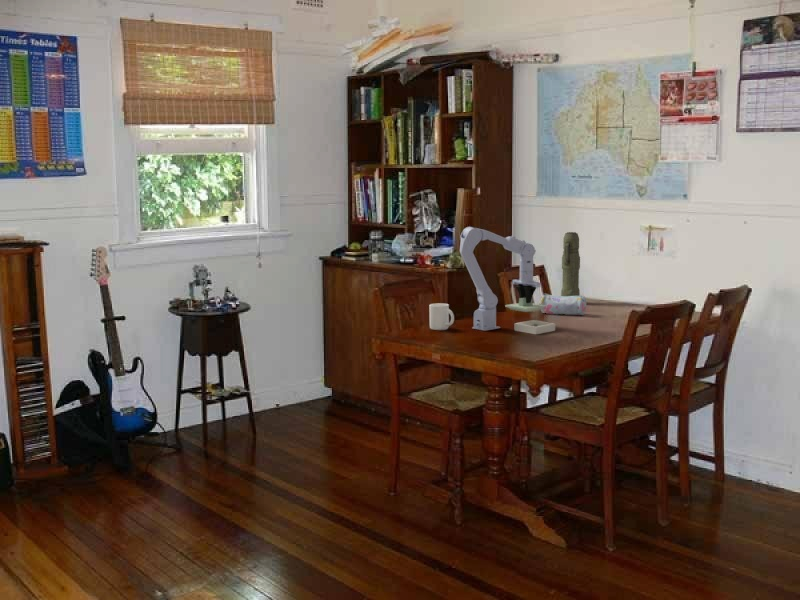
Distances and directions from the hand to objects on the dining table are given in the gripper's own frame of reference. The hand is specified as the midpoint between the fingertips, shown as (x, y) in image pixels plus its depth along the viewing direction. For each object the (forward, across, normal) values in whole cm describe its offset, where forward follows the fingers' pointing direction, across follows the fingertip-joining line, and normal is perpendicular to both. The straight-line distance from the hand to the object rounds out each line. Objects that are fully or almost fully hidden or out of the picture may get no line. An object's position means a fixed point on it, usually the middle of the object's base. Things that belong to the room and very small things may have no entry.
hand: (526, 302), depth 399 cm
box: (+10, -9, +4) cm, 14 cm away
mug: (+11, +19, +31) cm, 38 cm away
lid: (+2, 0, 0) cm, 2 cm away
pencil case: (+11, +10, -34) cm, 37 cm away
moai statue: (+11, +28, -60) cm, 67 cm away
